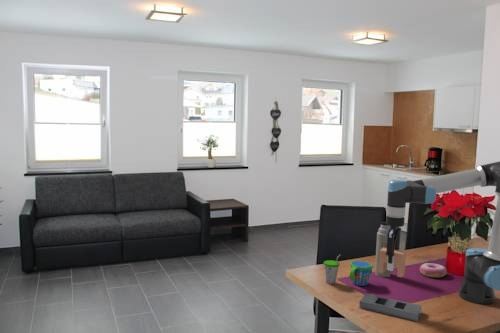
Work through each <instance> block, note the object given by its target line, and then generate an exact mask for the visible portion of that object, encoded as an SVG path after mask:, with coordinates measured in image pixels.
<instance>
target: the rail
mask: <svg viewBox="0 0 500 333" xmlns="http://www.w3.org/2000/svg"><path fill="white" fill-rule="evenodd" d="M358 306H359V309H364V310H368V311H372V312H377V313H380V314H384V315H389V316H391V317H397V318H401V319H406V320H410V321H413V322H414V321H415V322H419V320H420V317H421V314H422V312H423V306H422V305H420V304H416V303H412V302H406V301H402V300H398V299H393V298H388V297H385V296H380V295H379V296H378V295H374V294H370V293H365V294H364V295H363V297H362V298H361V299H360V300H359V305H358Z"/></svg>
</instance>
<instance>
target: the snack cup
mask: <svg viewBox="0 0 500 333" xmlns="http://www.w3.org/2000/svg"><path fill="white" fill-rule="evenodd" d="M349 265H350V267H351V269H350V271H349V278H348V279H349V280H351V281H352V283H353V284H354V285H355V286H360V287H361V286H362V287H366V286H367V285H369V282H370V278H371V275H372V274H373V264H372V263H370V262H367V261H363V260H354V261H351V262H350V264H349Z"/></svg>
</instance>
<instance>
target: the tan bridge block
mask: <svg viewBox="0 0 500 333" xmlns="http://www.w3.org/2000/svg"><path fill="white" fill-rule="evenodd" d="M399 250H400V249H399ZM399 250H394V265H397V267H396V268H397V270H396V277H398V278H403V276H404V275H405V273H406V272H405V271H406V261H407V260H406V258H407V251H403V250H400V251H399ZM386 252H387V248H382V249H381V250H380V254H379V269H378V273H384V272H385V271H386V263H387V257H388V255H386Z"/></svg>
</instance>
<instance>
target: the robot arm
mask: <svg viewBox="0 0 500 333" xmlns="http://www.w3.org/2000/svg"><path fill="white" fill-rule="evenodd" d="M477 186H479V187H481V188H484V187H495V191H494V193H495V194H496V196H497V201H496V207H495V211H494V217H493V222H492V227H491V231H490V236H489V242H488V247H487V248H475V247H470V248H468V249H466V252H465V260H464V262H465V263H464V274H463V275H464V277H463V281H462V282H461V285H460V287H459V289H458V295H459V297H460V298H461V299H463V300H465V301H468V302H471V303H475V304H481V305H482V304H483V305H489V304H494V303H496V302H495V301H496V293H495V291H500V161H495V162H490V163H486V164H482V165H478V166H477V165H476V167H475V168H473V169H467V170H462V171H458V172H453V173H452V172H451V173H447V174H443V175H442V174H441V175H438V176H433V177H428V178H422V179H417V180H409V179H406V180H401V179H391V180H389V181H388V187H387V188H388V189H387V202H386V204H387V205H386V207H385V210H386V218H385V222H386V224H387V225H390V229H389V233H387V237H388V238H387V252H386V255H388V257H387V270H390V271H391V272H394V268H398V265H394V250H399V251H401V250H400V244H401V231H402V228H401V227H404V226H405V216H406V204H422V205H423V204H425V205H427V204H434V203H435V202H436V198H437V194H441V193H446V192H451V191H455V190H456V191H457V190H461V189H467V188H473V187H477Z"/></svg>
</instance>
